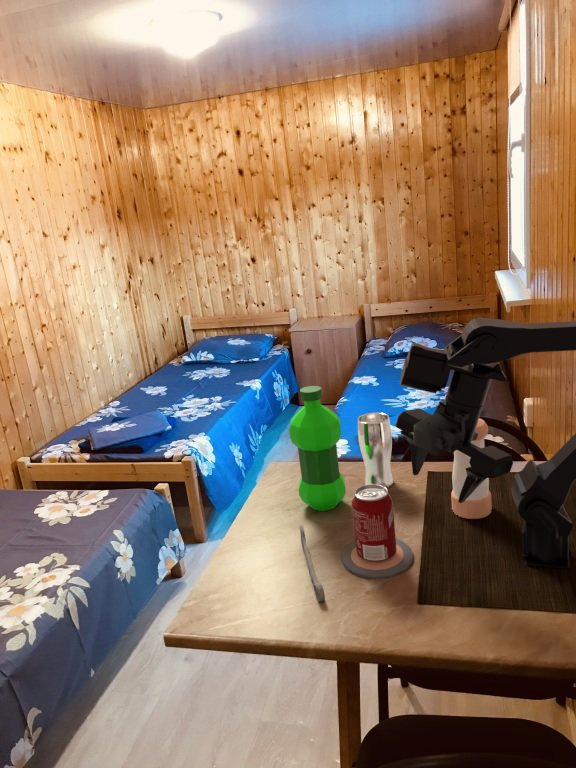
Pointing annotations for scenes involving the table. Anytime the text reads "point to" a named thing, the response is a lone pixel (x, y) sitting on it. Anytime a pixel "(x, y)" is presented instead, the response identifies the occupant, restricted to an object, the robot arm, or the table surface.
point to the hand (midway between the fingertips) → (437, 488)
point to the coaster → (378, 569)
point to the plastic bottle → (317, 451)
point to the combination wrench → (317, 586)
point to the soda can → (374, 524)
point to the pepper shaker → (480, 497)
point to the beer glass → (376, 447)
